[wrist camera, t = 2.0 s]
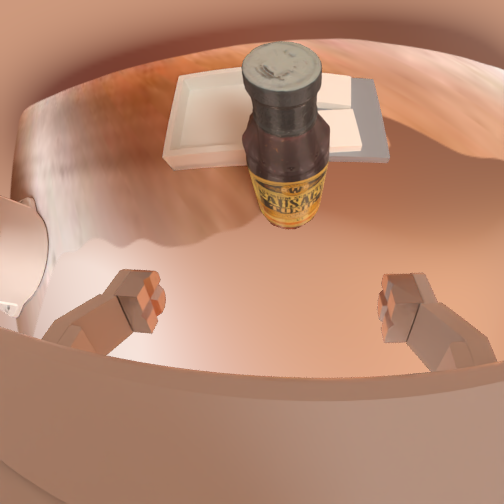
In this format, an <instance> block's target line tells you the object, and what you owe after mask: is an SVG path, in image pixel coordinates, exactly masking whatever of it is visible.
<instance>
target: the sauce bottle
mask: <svg viewBox="0 0 504 504" xmlns="http://www.w3.org/2000/svg"><path fill="white" fill-rule="evenodd" d="M241 68H242V75H243V83H244V86H245V90H246V92H247V93H248V94H249V96H250V97H251V100H252V106H253V109H252V111H253V112H252V113H251V115H250V116H249V121H248V125H247V128H246V130H245V132H244V133H243V135H242V144H243V147H244V150H245V153H246V163H247V166H248V170H249V173H250V177H251V180H252V184H253V187H254V190H255V194H256V197H257V201H258V204H259V207H260V210H261V212H262V213H263V215H264V216H265V217H266V218H267V219H268V221H269V222H270V223H271V224H272V225H274V226H277V227H280V228H283V229H296V228H299V227H301V226H303V225H305V224H306V223H308V222H309V221H310V220H311V219H313V217H314V215H315V214H316V212H317V211H318V208H319V205H320V201H321V196H322V191H323V186H324V181H325V176H326V171H327V167H328V162H329V148H330V126H329V125H328V124H327V123H326V121H325V120H324V119H323V118H322V117H321V116H320V115H319V113H318V108H317V105H316V104H317V93H318V92H319V90H320V88H321V84H322V65H321V61H320V59H319V57H318V56H317V55H316V53H314V52H313V51H312V50H310V49H309V48H307V47H305V46H303V45H301V44H297V43H294V42H283V41H279V42H273V43H268V44H263V45H261V46H259V47H257V48H255V49H253V50H252V51H251V52H250V54H248V55H247V56H246V57H245V59H244V60H243V64H242V67H241Z"/></svg>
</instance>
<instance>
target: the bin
mask: <svg viewBox="0 0 504 504" xmlns="http://www.w3.org/2000/svg"><path fill="white" fill-rule="evenodd" d="M252 109H253V106H252V100H251V97H250V96H249V94H248V93H247V92H246V90H245V86H244V83H243V75H242V68H241V67H237V68H228V69H220V70H213V71H206V72H199V73H193V74H187V75H182V76H179V78H178V82H177V86H176V91H175V95H174V100H173V104H172V109H171V113H170V118H169V123H168V128H167V133H166V138H165V144H164V149H163V155H162V158H163V159H164V160H165V161H166V162H167V163H168V164H169V166H170V167H171V168H172V169H173V170H174V171H175V170H186V169H198V168H211V167H226V166H244V165H247V163H246V153H245V150H244V147H243V144H242V135H243V133H244V132H245V130H246V128H247V125H248V121H249V116H250V115H251V113H252V112H253V111H252Z"/></svg>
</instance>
